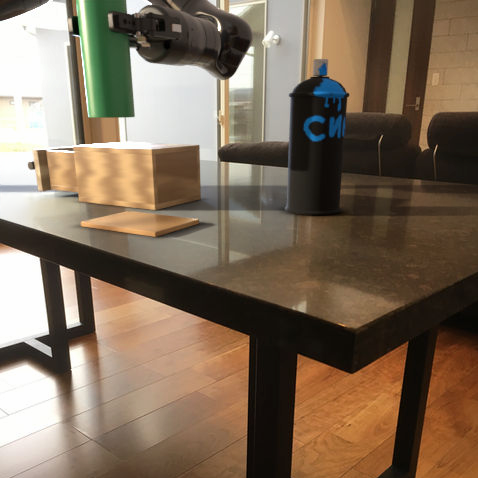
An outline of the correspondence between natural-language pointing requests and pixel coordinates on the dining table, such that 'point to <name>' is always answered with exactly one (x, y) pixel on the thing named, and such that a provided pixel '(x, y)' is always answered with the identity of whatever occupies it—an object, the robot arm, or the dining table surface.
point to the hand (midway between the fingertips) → (90, 23)
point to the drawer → (55, 169)
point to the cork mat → (140, 223)
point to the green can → (105, 60)
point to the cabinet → (138, 174)
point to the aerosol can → (316, 144)
